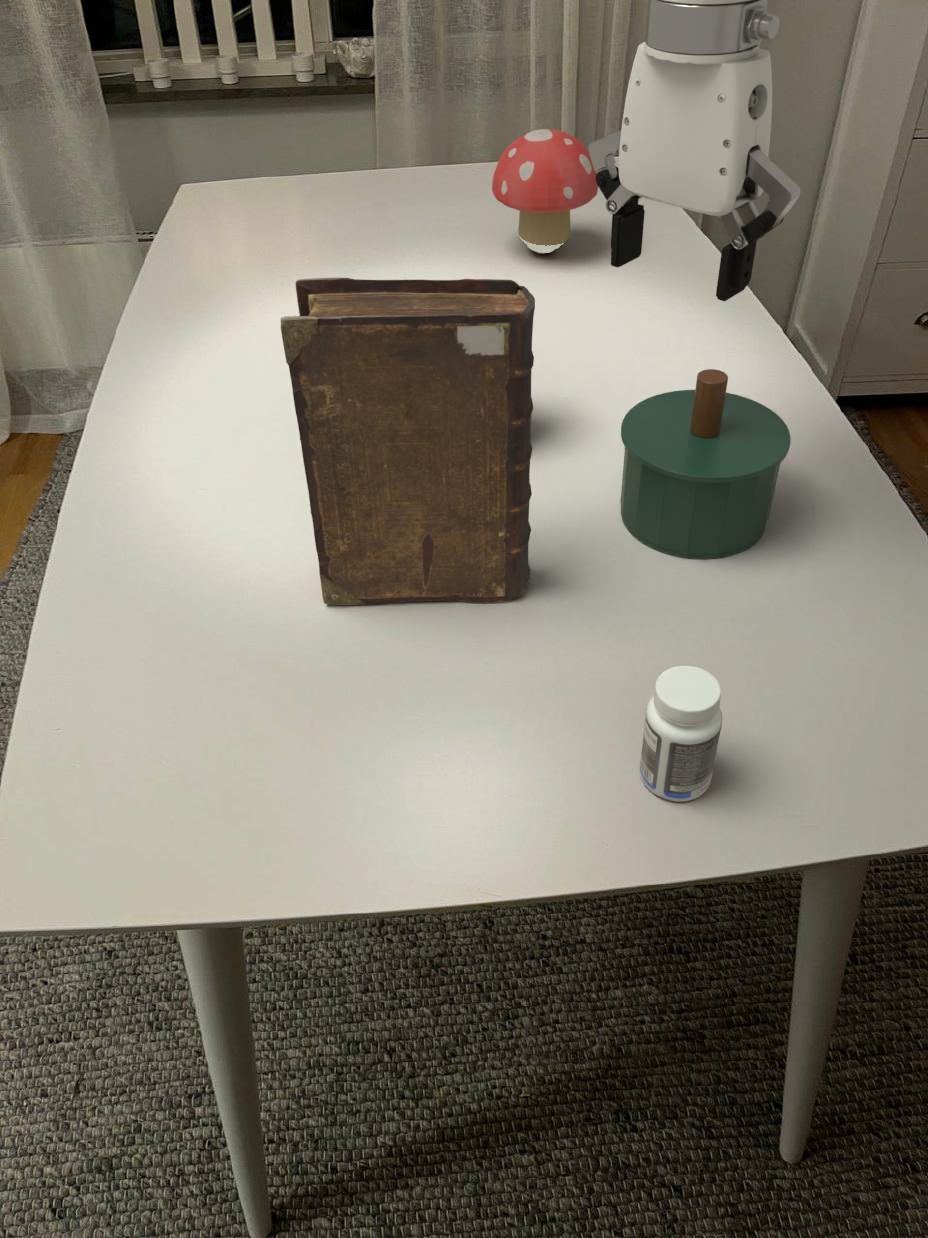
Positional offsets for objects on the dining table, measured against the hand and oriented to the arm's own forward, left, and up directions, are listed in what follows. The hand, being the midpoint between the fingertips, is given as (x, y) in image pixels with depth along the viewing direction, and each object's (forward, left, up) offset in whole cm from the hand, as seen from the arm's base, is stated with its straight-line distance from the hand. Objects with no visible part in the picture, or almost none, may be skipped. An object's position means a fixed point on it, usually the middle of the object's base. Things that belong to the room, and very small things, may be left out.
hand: (676, 277), depth 78 cm
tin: (-4, +2, -20) cm, 21 cm away
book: (+13, +20, -21) cm, 31 cm away
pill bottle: (-11, +31, -21) cm, 38 cm away
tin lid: (-4, +2, -12) cm, 13 cm away
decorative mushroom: (+30, -47, -21) cm, 60 cm away
